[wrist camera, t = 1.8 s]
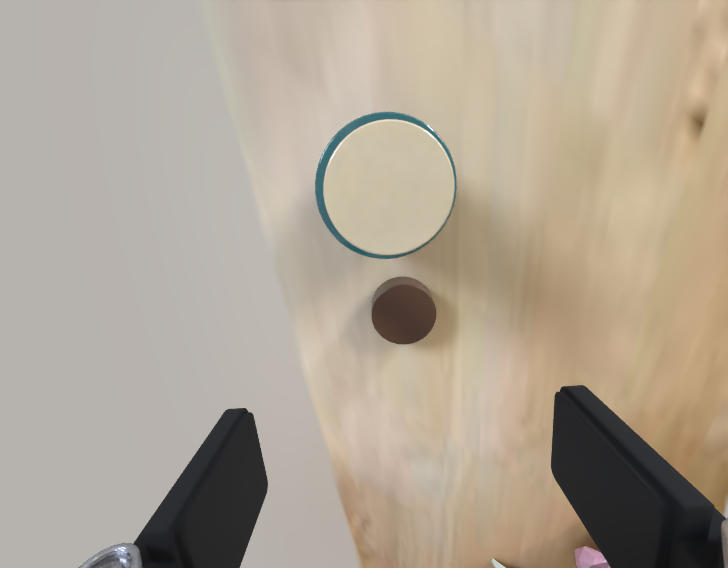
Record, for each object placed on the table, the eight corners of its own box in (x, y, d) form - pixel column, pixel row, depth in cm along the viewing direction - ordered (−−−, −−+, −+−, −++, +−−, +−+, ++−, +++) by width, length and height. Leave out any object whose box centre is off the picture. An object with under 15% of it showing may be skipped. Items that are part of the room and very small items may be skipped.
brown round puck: (401, 264, 28) (403, 271, 26) (444, 304, 29) (449, 314, 27) (359, 306, 29) (358, 316, 27) (402, 343, 30) (404, 356, 28)
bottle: (380, 118, 25) (384, 26, 11) (447, 185, 26) (531, 184, 12) (318, 191, 27) (251, 197, 12) (384, 251, 28) (391, 321, 14)
